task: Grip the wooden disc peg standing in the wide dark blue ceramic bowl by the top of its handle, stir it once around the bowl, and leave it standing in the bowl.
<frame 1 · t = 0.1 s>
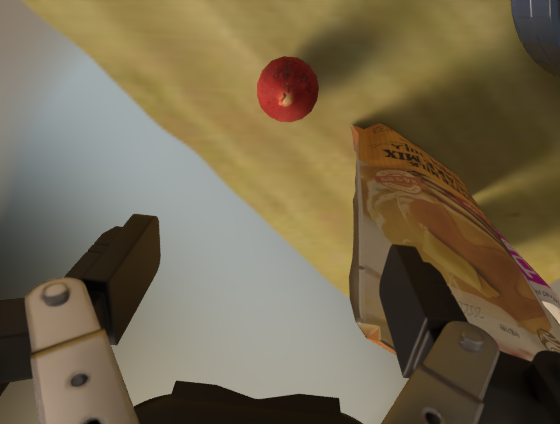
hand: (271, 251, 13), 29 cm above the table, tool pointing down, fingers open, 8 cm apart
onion: (288, 83, 39), on the table
pancake mix bag: (402, 171, 42), on the table
supplement can: (456, 239, 46), on the table
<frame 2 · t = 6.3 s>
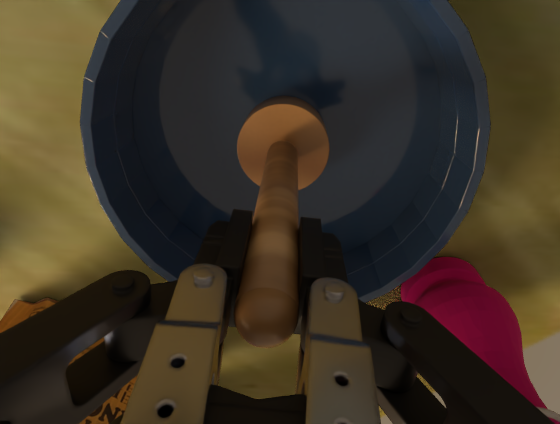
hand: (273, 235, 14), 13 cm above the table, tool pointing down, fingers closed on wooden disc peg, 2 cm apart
pepper mill: (438, 285, 31), on the table
pancake mix bag: (101, 342, 35), on the table
wooden disc peg: (284, 139, 25), point 1 cm above the table, touching bowl, gripper
bowl: (284, 136, 25), on the table
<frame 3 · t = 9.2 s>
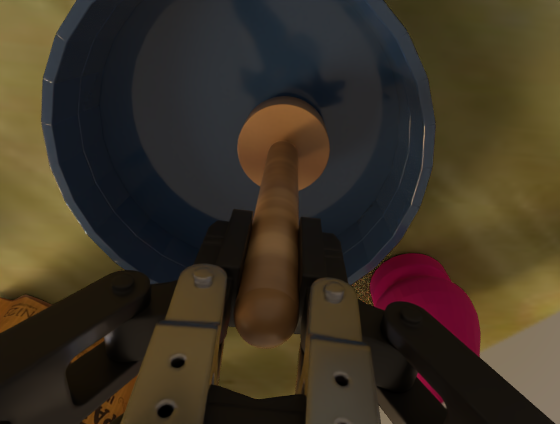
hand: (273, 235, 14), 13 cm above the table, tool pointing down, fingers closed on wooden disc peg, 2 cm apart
pepper mill: (406, 281, 31), on the table
pancake mix bag: (80, 338, 36), on the table
wooden disc peg: (284, 139, 25), point 1 cm above the table, touching gripper
bowl: (249, 135, 26), on the table
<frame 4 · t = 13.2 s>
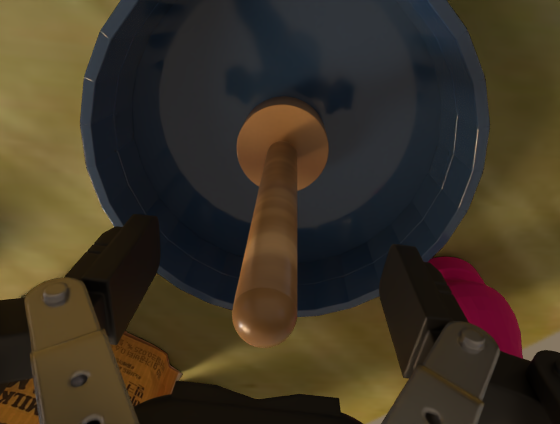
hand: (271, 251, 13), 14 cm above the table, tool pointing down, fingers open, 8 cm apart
pepper mill: (437, 285, 31), on the table
pancake mix bag: (101, 342, 35), on the table
wooden disc peg: (283, 139, 25), point 1 cm above the table, touching bowl
bowl: (284, 136, 25), on the table
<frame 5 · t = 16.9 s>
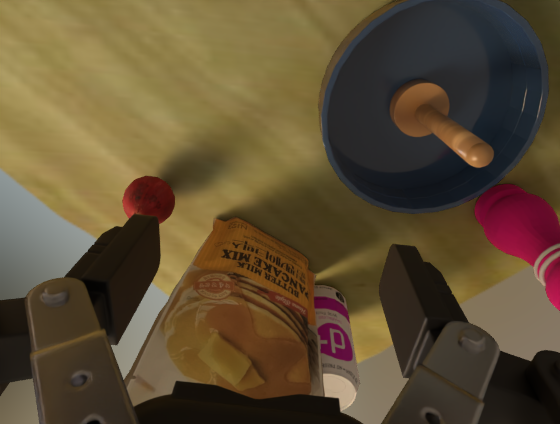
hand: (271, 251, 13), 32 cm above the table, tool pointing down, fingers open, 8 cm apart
pepper mill: (499, 205, 47), on the table
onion: (160, 187, 48), on the table
pancake mix bag: (263, 251, 52), on the table
wooden disc peg: (415, 105, 41), point 1 cm above the table, touching bowl
bowl: (413, 104, 41), on the table
supplement can: (318, 302, 56), on the table
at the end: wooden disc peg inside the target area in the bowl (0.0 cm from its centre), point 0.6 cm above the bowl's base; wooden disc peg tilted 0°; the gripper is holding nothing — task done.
